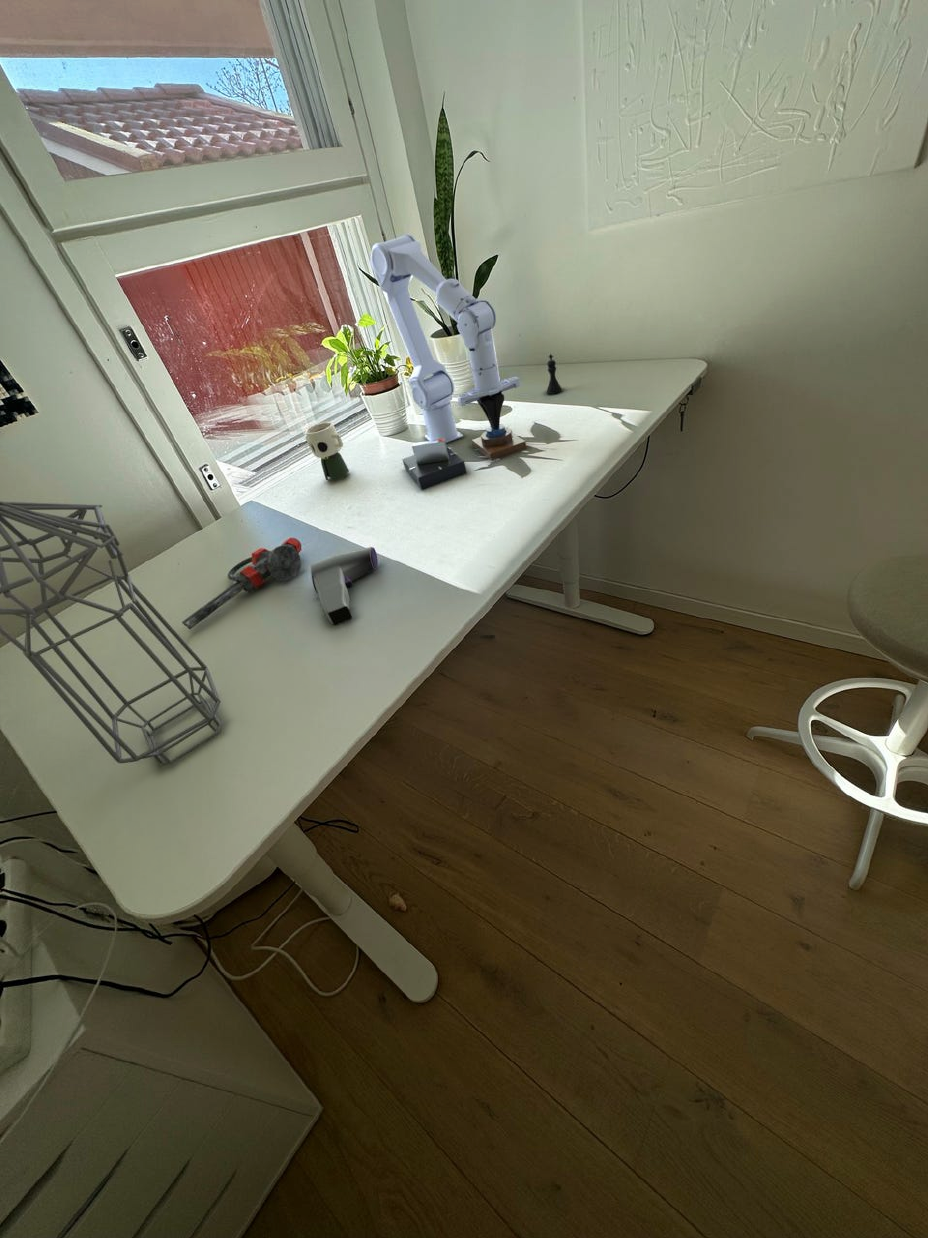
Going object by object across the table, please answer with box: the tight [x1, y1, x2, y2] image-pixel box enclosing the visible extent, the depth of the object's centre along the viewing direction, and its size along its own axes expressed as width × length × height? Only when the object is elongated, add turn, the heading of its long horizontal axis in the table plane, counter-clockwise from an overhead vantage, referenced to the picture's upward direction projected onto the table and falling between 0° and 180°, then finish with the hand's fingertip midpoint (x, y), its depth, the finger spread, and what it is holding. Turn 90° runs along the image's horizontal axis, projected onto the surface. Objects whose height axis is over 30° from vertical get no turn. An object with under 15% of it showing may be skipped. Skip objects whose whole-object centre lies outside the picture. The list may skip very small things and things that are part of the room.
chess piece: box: [546, 354, 563, 395], centre depth 145 cm, size 4×4×10 cm
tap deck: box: [402, 446, 468, 491], centre depth 121 cm, size 14×12×3 cm
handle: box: [411, 438, 449, 465], centre depth 118 cm, size 8×2×5 cm, turn 81°
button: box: [485, 423, 506, 438], centre depth 123 cm, size 4×4×2 cm
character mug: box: [304, 421, 350, 482], centre depth 129 cm, size 11×7×13 cm, turn 64°
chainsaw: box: [181, 537, 303, 630], centre depth 98 cm, size 6×26×15 cm
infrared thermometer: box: [310, 546, 379, 626], centre depth 88 cm, size 5×12×15 cm
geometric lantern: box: [0, 501, 223, 767], centre depth 61 cm, size 16×16×35 cm
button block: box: [471, 426, 527, 462], centre depth 124 cm, size 12×9×4 cm
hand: (495, 427), depth 122 cm, fingers closed
